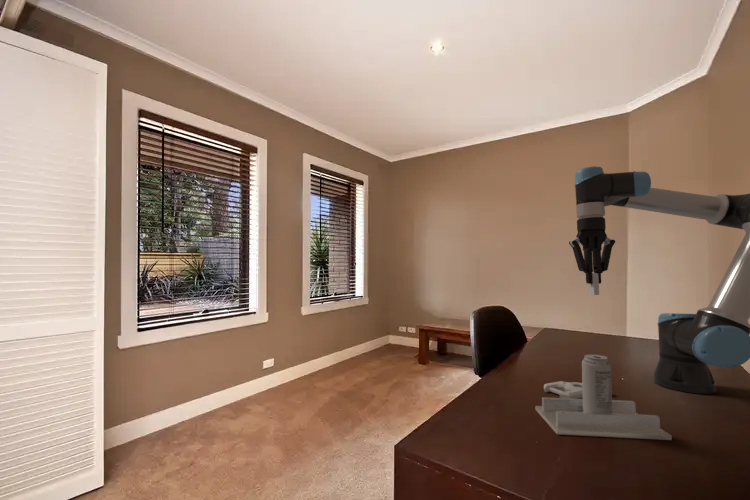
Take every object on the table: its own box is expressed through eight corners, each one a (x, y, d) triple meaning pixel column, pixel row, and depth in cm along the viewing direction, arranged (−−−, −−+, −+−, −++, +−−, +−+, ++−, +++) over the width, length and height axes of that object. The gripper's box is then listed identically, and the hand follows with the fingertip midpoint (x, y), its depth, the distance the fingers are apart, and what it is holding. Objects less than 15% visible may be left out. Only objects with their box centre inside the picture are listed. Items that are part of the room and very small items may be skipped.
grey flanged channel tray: (632, 413, 92) (631, 398, 92) (671, 440, 78) (671, 421, 78) (535, 409, 94) (535, 394, 94) (557, 434, 80) (556, 416, 80)
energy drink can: (598, 413, 89) (596, 353, 90) (618, 423, 83) (616, 359, 84) (577, 414, 88) (575, 354, 89) (596, 425, 82) (594, 360, 83)
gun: (585, 374, 114) (613, 384, 105) (585, 384, 114) (614, 396, 105) (538, 381, 109) (563, 393, 100) (538, 393, 109) (564, 406, 100)
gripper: (605, 219, 113) (608, 293, 112) (563, 220, 114) (566, 293, 113) (620, 215, 106) (624, 295, 104) (575, 216, 106) (578, 295, 105)
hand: (594, 294), depth 108 cm, fingers closed
